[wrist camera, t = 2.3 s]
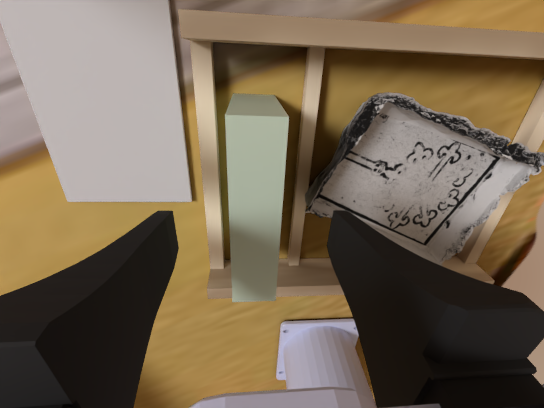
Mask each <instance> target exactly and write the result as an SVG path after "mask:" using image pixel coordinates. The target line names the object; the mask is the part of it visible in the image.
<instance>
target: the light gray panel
mask: <svg viewBox="0 0 544 408" xmlns="http://www.w3.org/2000/svg"><path fill="white" fill-rule="evenodd" d="M0 23H1V26H2V28H3V31H4V34H5V36H6V39H7V42H8V44H9V47H10V50H11V52H12V55H13V58H14V60H15V63H16V66H17V68H18V71H19V74H20V76H21V79H22V81H23V84H24V87H25V89H26V92H27V95H28V97H29V100H30V103H31V105H32V108H33V111H34V113H35V116H36V119H37V121H38V124H39V127H40V129H41V132H42V135H43V137H44V140H45V143H46V145H47V148H48V151H49V153H50V156H51V159H52V161H53V164H54V167H55V169H56V172H57V175H58V177H59V180H60V183H61V185H62V188H63V191H64V193H65V196H66V199H67V201H68V202H192V192H191V183H190V175H189V166H188V157H187V148H186V140H185V131H184V122H183V114H182V105H181V96H180V88H179V79H178V70H177V61H176V53H175V44H174V35H173V27H172V18H171V9H170V1H169V0H0Z"/></svg>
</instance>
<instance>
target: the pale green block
mask: <svg viewBox="0 0 544 408" xmlns="http://www.w3.org/2000/svg"><path fill="white" fill-rule="evenodd" d="M288 125H289V116H288V115H287V113H286V112H285V110H284V109H283V107H282V106H281V104H280V103H279V101H278V100H277V98H276V97H275V95H263V94H237V93H233V95H232V98H231V100H230V103H229V106H228V108H227V111H226V114H225V128H226V152H227V177H228V202H229V227H230V252H231V277H232V302H250V301H276V289H277V275H278V261H279V248H280V234H281V220H282V207H283V193H284V179H285V166H286V152H287V138H288Z"/></svg>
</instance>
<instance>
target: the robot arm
mask: <svg viewBox="0 0 544 408" xmlns="http://www.w3.org/2000/svg"><path fill="white" fill-rule="evenodd" d="M327 248H328V252H329V256H330V260H331V264H332V266H333V269H334V271H335V274H336V276H337V279H338V281H339V283H340V286H341V288H342V290H343V293H344V295H345V297H346V300H347V302H348V304H349V307H350V310H351V312H352V315H353V318H354V319H330V320H305V321H285V322H282V323H281V327H280V338H279V349H278V360H277V370H276V378H277V379H278V380H286V387H287V390H271V391H256V392H240V393H226V394H221V395H216V396H211V397H206V398H203V399H201V400H200V401H198V402H197V403H195V404H193V405H192V406H190V407H189V408H544V384H543V385H541V384H540V383H539V382H538V381H537V379H536V378H535V377H534V376H533V375H532V374H534V373H536V367H535V366H534V365H533V364H532V363H531V362H530V361H529V360H528V359H527V357H528V356H529V354H531V352H532V351H533V350H534V349H535V348H536V347H537V346H538V344H539V343H540V342H541V341H542V340H543V338H544V311H543V310H541V309H540V308H539V307H538V306H537V305H536V304H535V303H534V302H532V301H531V300H530V299H529V298H528V297H527V296H526V295H524V294H523V293H521V292H517V291H514V290H510V289H507V288H503V287H500V286H497V285H493V284H490V283H486V282H483V281H480V280H477V279H475V278H472V277H469V276H466V275H463V274H461V273H458V272H455V271H453V270H450V269H448V268H445V267H443V266H441V265H438V264H436V263H434V262H431V261H429V260H427V259H425V258H423V257H421V256H419V255H417V254H415V253H413V252H411V251H409V250H407V249H405V248H404V247H402V246H400V245H398V244H397V243H395V242H393V241H392V240H390V239H389V238H387V237H385V236H384V235H382V234H381V233H379V232H378V231H376V230H375V229H373V228H372V227H370V226H369V225H368V224H366V223H365V222H363V221H362V220H360V219H359V218H357V217H356V216H355V215H353V214H352V213H350V212H348V211H346V210H333V215H332V221H331V226H330V232H329V237H328V242H327ZM177 253H178V241H177V235H176V229H175V223H174V217H173V211H157V212H156V213H154V214H153V215H151V216H150V217H148V218H147V219H146V220H144V221H143V222H142V223H140V224H139V225H137V226H136V227H135V228H133V229H132V230H131V231H129V232H128V233H126V234H125V235H123V236H122V237H120V238H119V239H117V240H116V241H114V242H113V243H111V244H110V245H108V246H107V247H105V248H103V249H102V250H100V251H98V252H97V253H95V254H93V255H92V256H90V257H88V258H86V259H84V260H82V261H80V262H79V263H77V264H75V265H73V266H71V267H68V268H66V269H64V270H62V271H60V272H58V273H55V274H53V275H51V276H49V277H47V278H45V279H42V280H40V281H37V282H35V283H33V284H30V285H28V286H25V287H23V288H20V289H17V290H15V291H12V292H9V293H7V294H4V295H1V296H0V408H133V407H134V402H135V398H136V393H137V389H138V384H139V380H140V375H141V371H142V367H143V363H144V358H145V354H146V350H147V346H148V342H149V339H150V335H151V331H152V327H153V324H154V320H155V317H156V314H157V312H158V309H159V306H160V304H161V301H162V299H163V296H164V293H165V291H166V288H167V286H168V283H169V280H170V278H171V275H172V272H173V270H174V266H175V262H176V258H177ZM358 336H359V338H360V342H361V345H362V349H363V352H364V356H365V360H366V364H367V368H368V372H369V376H370V380H371V384H372V388H373V392H374V397H375V401H376V404H375V401H374V399H373V396H372V393H371V390H370V388H369V385H368V382H367V379H366V377H365V374H364V371H363V368H362V366H361V363H360V360H359V357H358V355H357V352H356V349H355V346H356V342H357V339H358ZM376 406H377V407H376Z"/></svg>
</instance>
